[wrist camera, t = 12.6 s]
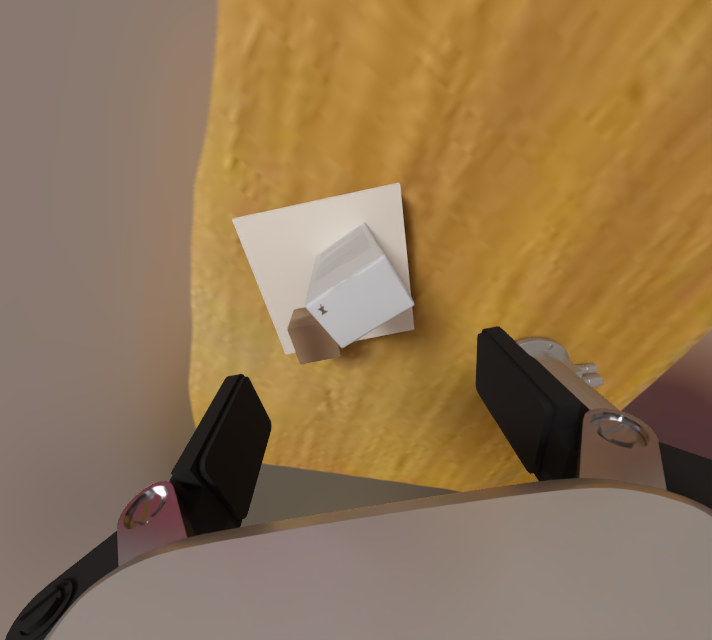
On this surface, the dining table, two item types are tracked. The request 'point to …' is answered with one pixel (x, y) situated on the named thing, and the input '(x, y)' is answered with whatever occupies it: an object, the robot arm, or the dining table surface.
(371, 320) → the skincare box
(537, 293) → the dining table surface
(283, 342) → the dock
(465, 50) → the dining table surface
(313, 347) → the crate
